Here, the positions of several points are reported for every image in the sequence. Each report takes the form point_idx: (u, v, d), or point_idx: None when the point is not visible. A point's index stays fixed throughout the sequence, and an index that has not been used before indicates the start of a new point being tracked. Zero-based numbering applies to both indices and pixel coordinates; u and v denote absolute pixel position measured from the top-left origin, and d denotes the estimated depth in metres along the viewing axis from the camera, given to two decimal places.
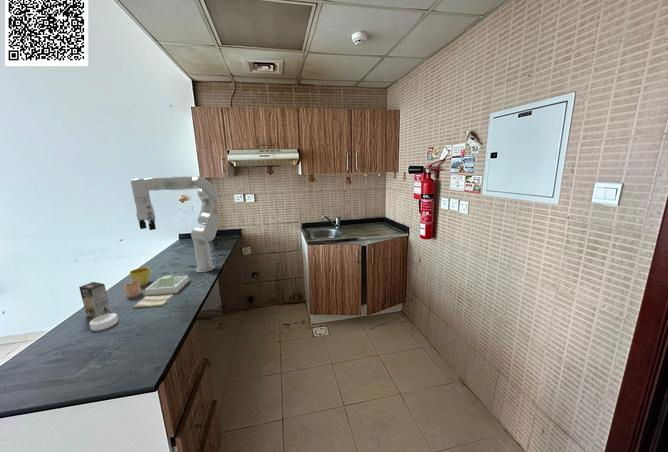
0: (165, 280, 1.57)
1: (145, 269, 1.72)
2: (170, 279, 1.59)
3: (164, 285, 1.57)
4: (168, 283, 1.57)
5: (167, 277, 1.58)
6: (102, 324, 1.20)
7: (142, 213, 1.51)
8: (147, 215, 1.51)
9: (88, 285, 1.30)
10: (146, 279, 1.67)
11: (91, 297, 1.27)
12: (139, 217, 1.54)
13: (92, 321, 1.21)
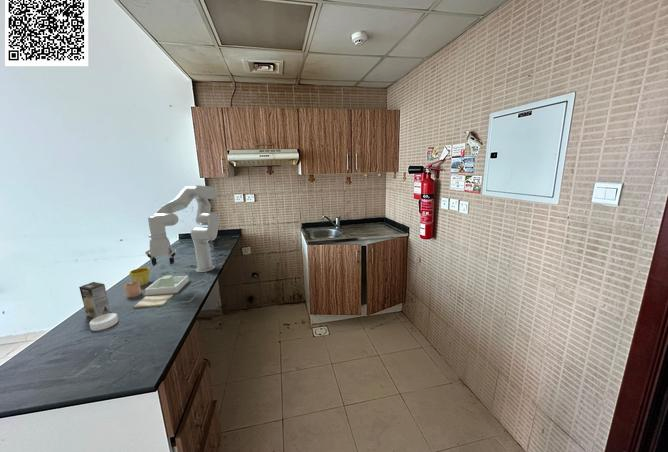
0: (165, 280, 1.57)
1: (145, 269, 1.72)
2: (170, 279, 1.59)
3: (164, 285, 1.57)
4: (168, 283, 1.57)
5: (167, 277, 1.58)
6: (102, 324, 1.20)
7: None
8: None
9: (88, 285, 1.30)
10: (146, 279, 1.67)
11: (91, 297, 1.27)
12: None
13: (92, 321, 1.21)
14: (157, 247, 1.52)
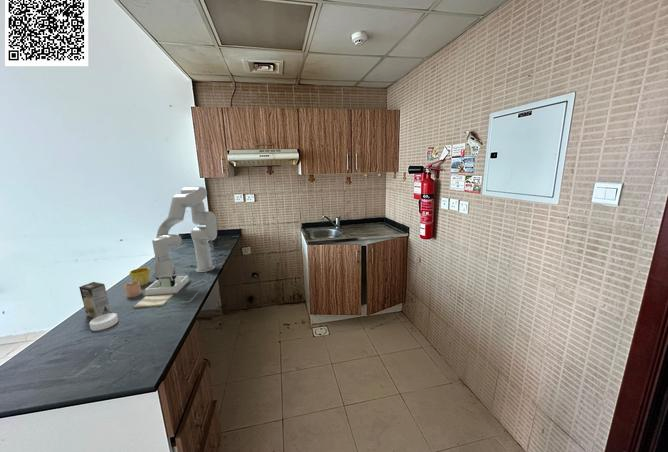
0: (165, 280, 1.57)
1: (145, 269, 1.72)
2: (170, 279, 1.59)
3: (164, 285, 1.57)
4: (168, 283, 1.57)
5: (167, 277, 1.58)
6: (102, 324, 1.20)
7: None
8: None
9: (88, 285, 1.30)
10: (146, 279, 1.67)
11: (91, 297, 1.27)
12: None
13: (92, 321, 1.21)
14: (162, 269, 1.55)
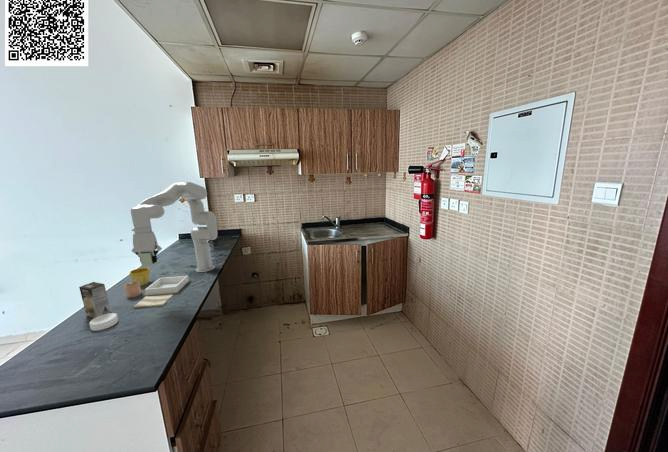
0: (145, 254, 1.39)
1: (145, 269, 1.72)
2: None
3: (144, 261, 1.40)
4: (149, 258, 1.40)
5: (148, 252, 1.41)
6: (102, 324, 1.20)
7: None
8: None
9: (88, 285, 1.30)
10: (146, 279, 1.67)
11: (91, 297, 1.27)
12: None
13: (92, 321, 1.21)
14: (141, 242, 1.38)
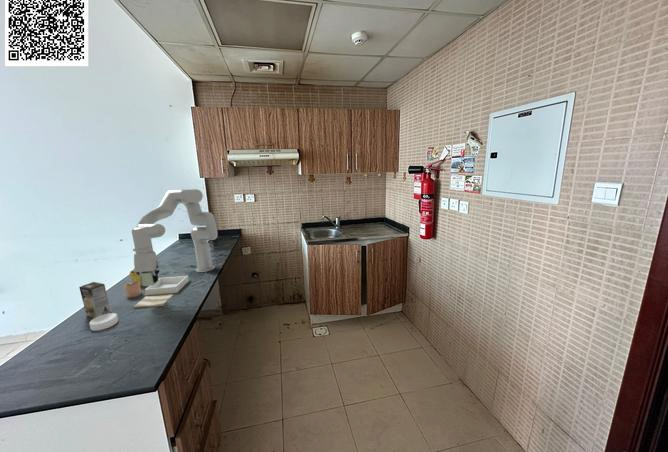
0: (146, 274, 1.39)
1: None
2: None
3: (145, 281, 1.40)
4: (150, 278, 1.40)
5: (149, 272, 1.41)
6: (102, 324, 1.20)
7: None
8: None
9: (88, 285, 1.30)
10: None
11: (91, 297, 1.27)
12: None
13: (92, 321, 1.21)
14: (143, 262, 1.37)
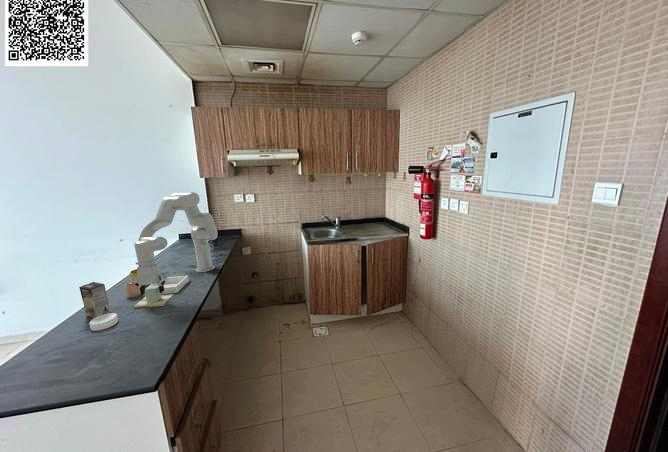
0: (150, 291, 1.41)
1: None
2: (156, 290, 1.44)
3: (149, 297, 1.42)
4: (153, 295, 1.42)
5: (152, 288, 1.43)
6: (102, 324, 1.20)
7: None
8: None
9: (88, 285, 1.30)
10: None
11: (91, 297, 1.27)
12: None
13: (92, 321, 1.21)
14: (145, 276, 1.39)
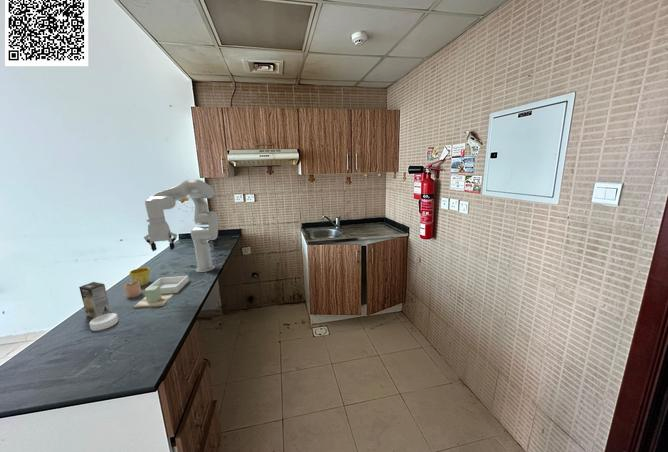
0: (150, 291, 1.41)
1: (145, 269, 1.72)
2: (156, 290, 1.44)
3: (149, 297, 1.42)
4: (153, 295, 1.42)
5: (152, 288, 1.43)
6: (102, 324, 1.20)
7: None
8: None
9: (88, 285, 1.30)
10: (146, 279, 1.67)
11: (91, 297, 1.27)
12: None
13: (92, 321, 1.21)
14: (156, 232, 1.45)
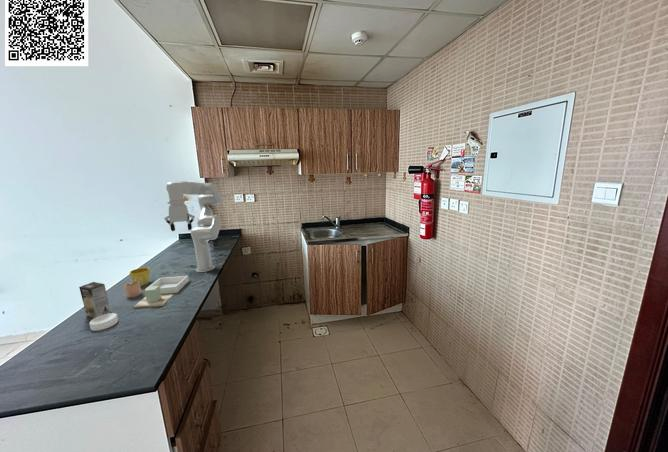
0: (150, 291, 1.41)
1: (145, 269, 1.72)
2: (156, 290, 1.44)
3: (149, 297, 1.42)
4: (153, 295, 1.42)
5: (152, 288, 1.43)
6: (102, 324, 1.20)
7: None
8: None
9: (88, 285, 1.30)
10: (146, 279, 1.67)
11: (91, 297, 1.27)
12: None
13: (92, 321, 1.21)
14: (176, 213, 1.58)
